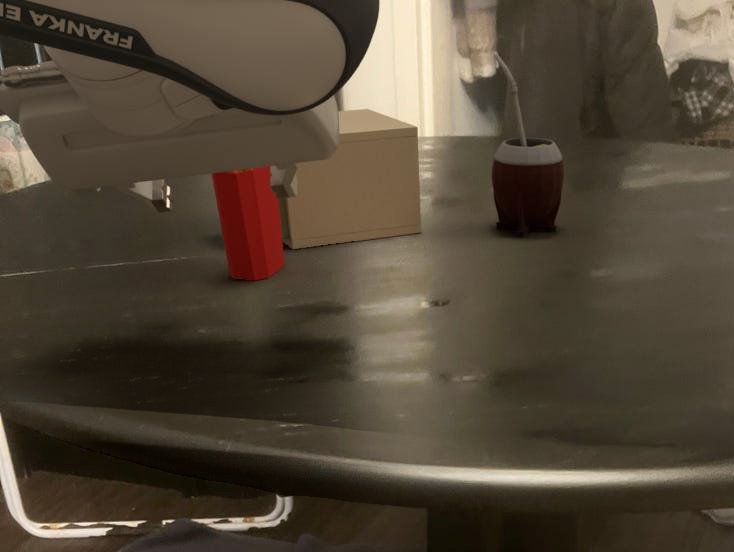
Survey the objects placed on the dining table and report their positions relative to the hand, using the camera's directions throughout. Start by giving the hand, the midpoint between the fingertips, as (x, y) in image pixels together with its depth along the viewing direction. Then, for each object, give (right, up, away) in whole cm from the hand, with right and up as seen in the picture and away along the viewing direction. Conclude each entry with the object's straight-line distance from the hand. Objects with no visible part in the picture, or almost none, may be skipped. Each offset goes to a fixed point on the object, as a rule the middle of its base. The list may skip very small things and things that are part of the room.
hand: (225, 197), depth 72 cm
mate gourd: (+23, +9, +28) cm, 38 cm away
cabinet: (+4, +10, +29) cm, 31 cm away
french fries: (-1, +1, +16) cm, 16 cm away
